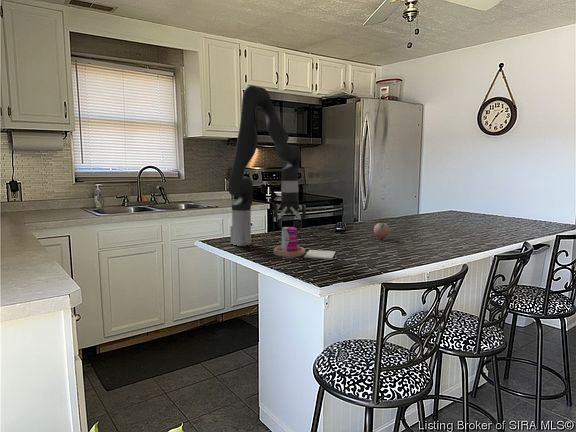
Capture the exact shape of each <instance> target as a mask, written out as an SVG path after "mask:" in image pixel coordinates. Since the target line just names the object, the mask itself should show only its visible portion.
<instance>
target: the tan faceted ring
mask: <svg viewBox="0 0 576 432" xmlns="http://www.w3.org/2000/svg"><path fill="white" fill-rule="evenodd" d="M273 255H275V256H279V257H286V258H287V257H288V258H295V257H300V256H305V255H306V248H304V247H302V246H298V245H297V251H294V252H285V251H282V245H279V246H275V247H273Z"/></svg>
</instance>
